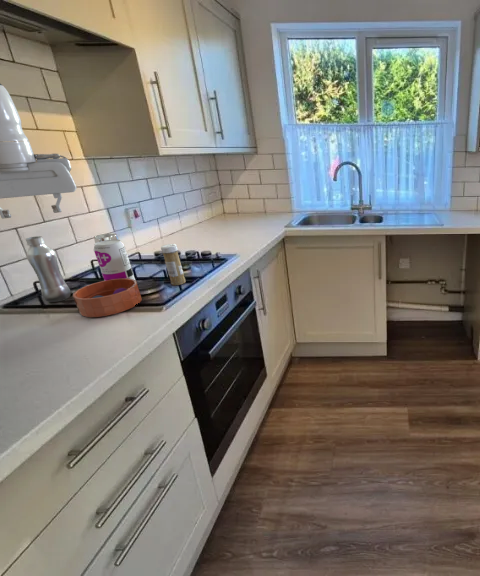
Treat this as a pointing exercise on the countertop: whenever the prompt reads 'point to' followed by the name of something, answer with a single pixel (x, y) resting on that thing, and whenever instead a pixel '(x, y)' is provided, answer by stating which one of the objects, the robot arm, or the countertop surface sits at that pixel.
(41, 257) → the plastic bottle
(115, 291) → the plum ball
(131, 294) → the bowl
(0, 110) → the robot arm
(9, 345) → the countertop surface
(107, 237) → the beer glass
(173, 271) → the sprinkles bottle
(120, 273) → the supplement can
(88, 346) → the countertop surface
